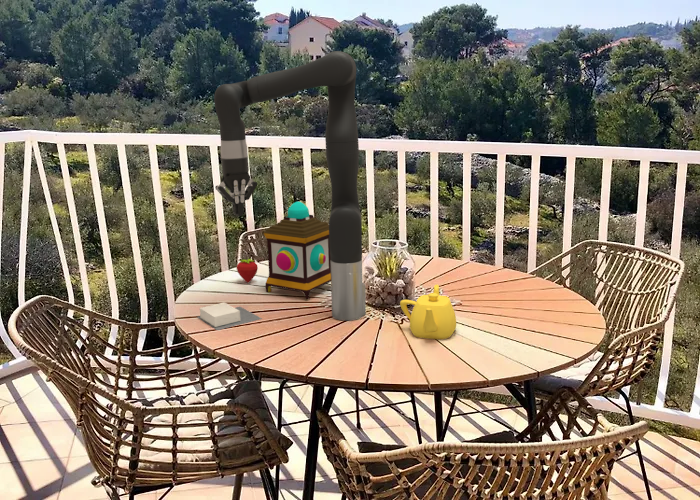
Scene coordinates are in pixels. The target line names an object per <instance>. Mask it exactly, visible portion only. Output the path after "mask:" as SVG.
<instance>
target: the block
mask: <svg viewBox="0 0 700 500" xmlns="http://www.w3.org/2000/svg"><path fill="white" fill-rule="evenodd" d="M235 308H236V307H233V306H232V305H230V304H228V303H227V302H220V303H216V304H215V303H214V304H211V305H206V306H202V307H199V316H200V318H202V319H203V320H205V321H206V322H208V323H210V324H211V325H213V326H214V327H219V326H223V325H227V324H231V323H235V322H239V321H240V311H239V310H237V309H235Z"/></svg>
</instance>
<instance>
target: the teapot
mask: <svg viewBox="0 0 700 500" xmlns="http://www.w3.org/2000/svg"><path fill="white" fill-rule="evenodd" d="M399 305H400V308H401V310H402V312H403V314H404V315H405V316H406V317H407V318H408V320H409V328H410V331H411V333H412V334H413V336H414V337H415V338H420V339H428V340H446V339H449V338H450V337H452V335H453V334H454V333H455V330H456V329H457V328H456V327H457V317H456V312H455V310H454V307H453V304H452V302H451V299H450V297H448V296H446V295H441V294H440V285H439V284H434V286H433V292H430V293H428V294H423V295H420V296H419V297H418V298H417V299H416V301H415V300H413V299H412V300H411V299H402V300H400V302H399ZM407 305H413V308H412V310H411V313H410V311H409V309H408V306H407Z"/></svg>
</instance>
